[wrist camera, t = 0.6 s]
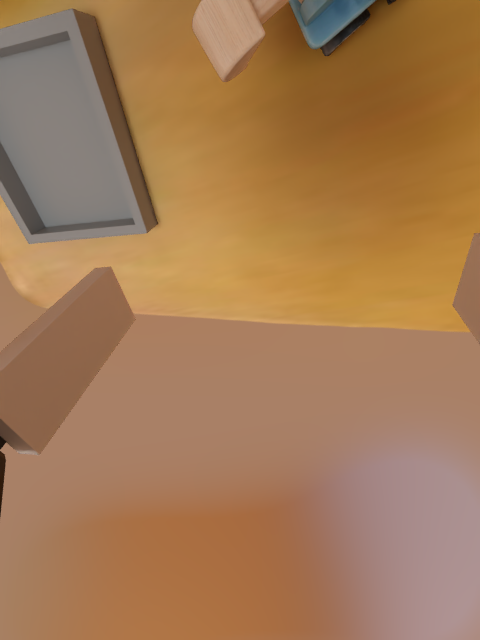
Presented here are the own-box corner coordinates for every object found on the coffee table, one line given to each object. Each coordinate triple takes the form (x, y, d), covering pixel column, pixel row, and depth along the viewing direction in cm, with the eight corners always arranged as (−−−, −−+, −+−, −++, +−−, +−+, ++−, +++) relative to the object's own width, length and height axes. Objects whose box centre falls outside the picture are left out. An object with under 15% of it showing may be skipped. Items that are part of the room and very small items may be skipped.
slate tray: (-51, 56, 32) (-83, 52, 30) (94, 16, 28) (72, 8, 26) (45, 234, 44) (28, 243, 41) (157, 223, 40) (147, 233, 37)
